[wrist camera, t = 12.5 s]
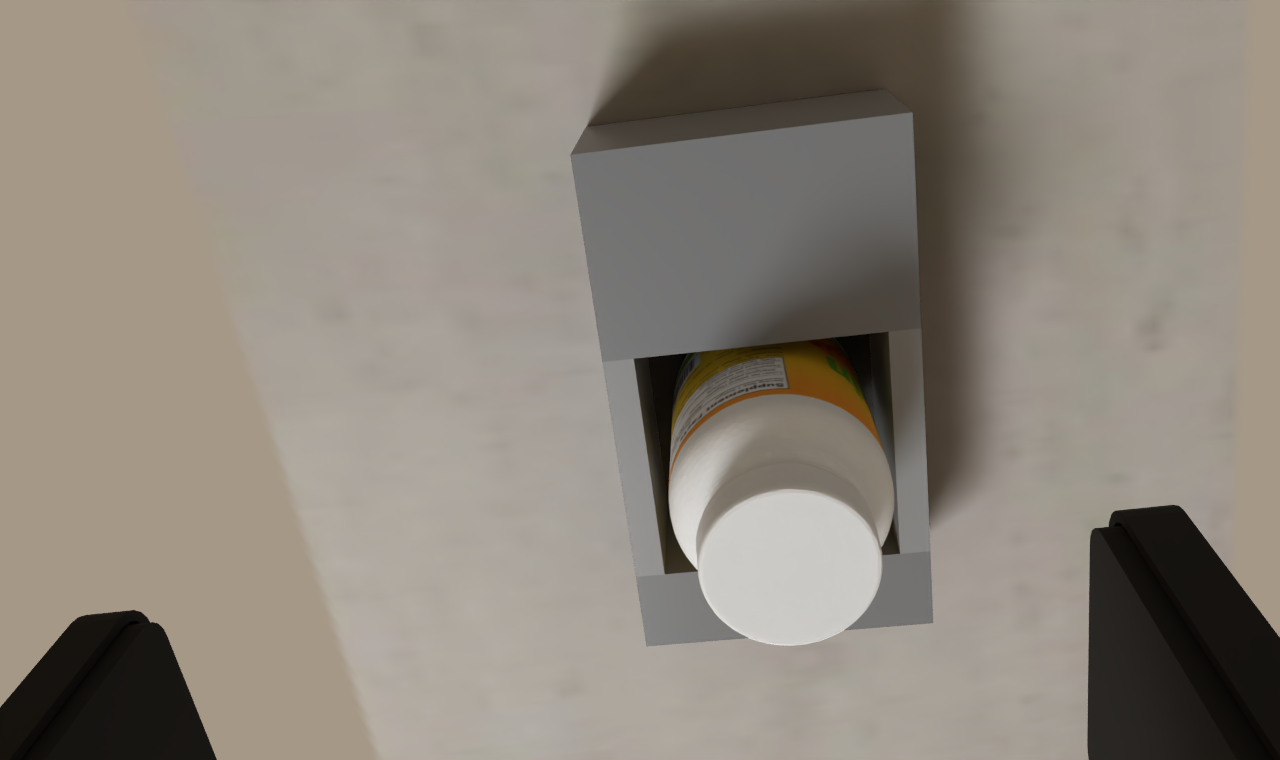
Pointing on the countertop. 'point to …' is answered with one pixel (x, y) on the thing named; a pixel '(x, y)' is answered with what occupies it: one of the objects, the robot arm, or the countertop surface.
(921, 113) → the countertop surface
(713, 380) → the supplement bottle
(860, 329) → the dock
